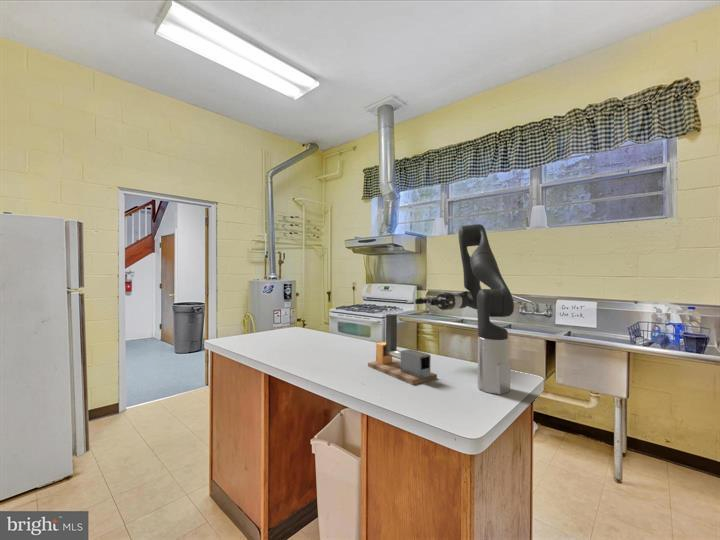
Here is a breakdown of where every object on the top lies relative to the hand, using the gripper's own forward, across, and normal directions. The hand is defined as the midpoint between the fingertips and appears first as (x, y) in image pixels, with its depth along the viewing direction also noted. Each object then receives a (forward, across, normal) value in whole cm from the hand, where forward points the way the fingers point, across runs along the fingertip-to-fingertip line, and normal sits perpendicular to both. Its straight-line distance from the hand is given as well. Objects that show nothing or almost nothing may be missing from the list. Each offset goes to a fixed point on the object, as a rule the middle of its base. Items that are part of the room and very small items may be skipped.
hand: (423, 302), depth 133 cm
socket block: (+13, -10, +25) cm, 29 cm away
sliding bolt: (+13, -2, +22) cm, 25 cm away
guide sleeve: (+13, +8, +25) cm, 30 cm away
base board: (+13, 0, +26) cm, 29 cm away
